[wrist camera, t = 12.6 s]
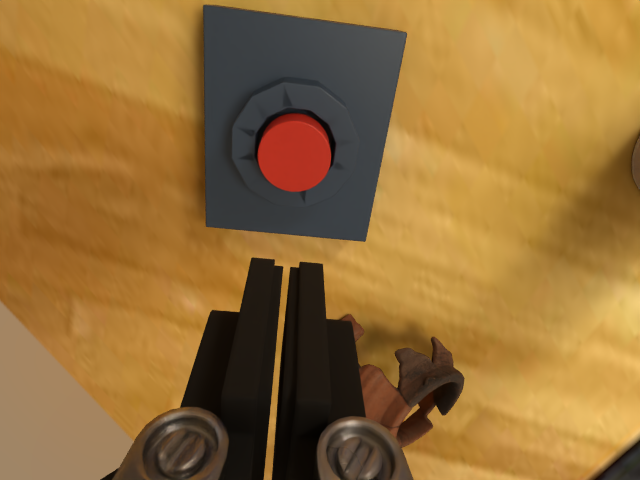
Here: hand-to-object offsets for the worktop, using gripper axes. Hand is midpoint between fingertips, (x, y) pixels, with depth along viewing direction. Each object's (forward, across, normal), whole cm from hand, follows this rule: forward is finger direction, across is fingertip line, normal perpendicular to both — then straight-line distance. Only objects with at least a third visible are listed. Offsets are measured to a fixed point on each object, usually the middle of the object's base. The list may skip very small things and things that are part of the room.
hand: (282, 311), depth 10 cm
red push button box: (+17, 0, 0) cm, 17 cm away
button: (+14, 0, 0) cm, 14 cm away
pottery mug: (+17, -8, +18) cm, 26 cm away
